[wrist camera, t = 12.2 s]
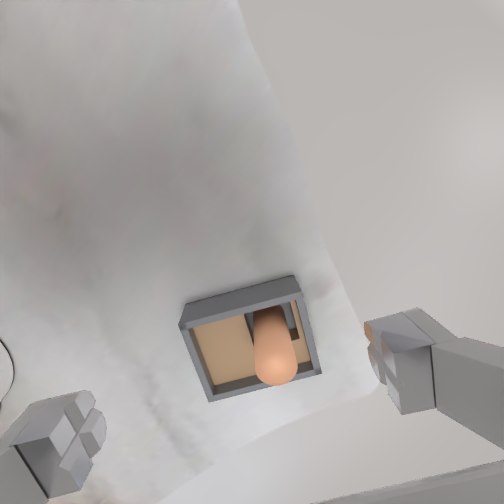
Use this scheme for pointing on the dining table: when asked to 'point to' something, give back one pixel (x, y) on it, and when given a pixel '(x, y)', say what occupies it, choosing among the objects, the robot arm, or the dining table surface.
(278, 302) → the bore box
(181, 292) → the dining table surface
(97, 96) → the dining table surface
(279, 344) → the peg
